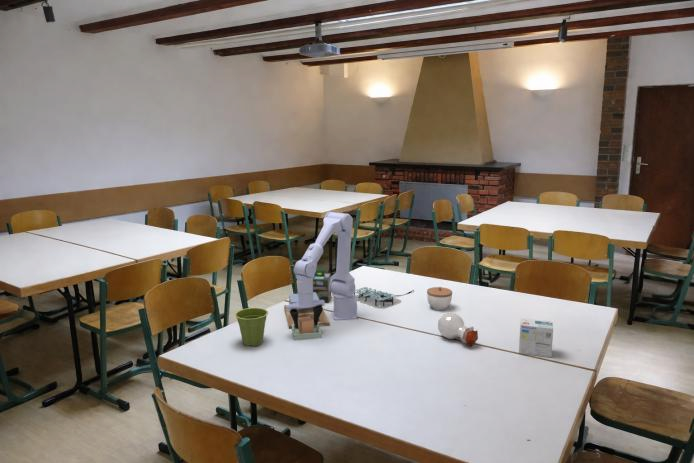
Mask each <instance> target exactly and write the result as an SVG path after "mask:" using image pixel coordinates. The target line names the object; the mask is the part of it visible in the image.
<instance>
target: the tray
mask: <svg viewBox="0 0 694 463" xmlns="http://www.w3.org/2000/svg"><path fill="white" fill-rule="evenodd" d="M291 332H292V336H293V339H294V341H300V340H301V341H302V340H303V341H304V340H313V339H322V331H321V328H320V326H318V324H317V326H316V325H315V324H314V333H305V334H300V333H299V327H298V329H296V328H295V325H292V329H291Z"/></svg>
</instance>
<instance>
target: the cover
mask: <svg viewBox="0 0 694 463" xmlns="http://www.w3.org/2000/svg"><path fill="white" fill-rule="evenodd" d="M288 299H289V300H288V305H289V304H293V303H296V302H298V293H289V294H288ZM313 300H319V298H318V296H317V294H316V292H313Z"/></svg>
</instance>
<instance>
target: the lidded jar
mask: <svg viewBox="0 0 694 463" xmlns="http://www.w3.org/2000/svg"><path fill="white" fill-rule="evenodd" d="M426 293H427V294H426V298H427V302H428V304H429V306H430V307H431V309H432V310H435V311H445V310H447V308H449V306H450V304H451V303H452V298H453V290H451V289H450V288H447V287H441V286H434V287H429V288H427V289H426Z"/></svg>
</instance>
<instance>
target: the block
mask: <svg viewBox="0 0 694 463" xmlns="http://www.w3.org/2000/svg"><path fill="white" fill-rule="evenodd" d="M298 327H299V333H300V334H305V333H314V322H313V319H312V318H311V317H310V316H308V317H302V318H298Z"/></svg>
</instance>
